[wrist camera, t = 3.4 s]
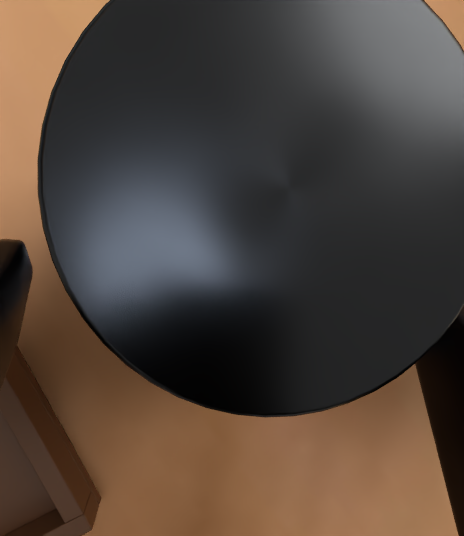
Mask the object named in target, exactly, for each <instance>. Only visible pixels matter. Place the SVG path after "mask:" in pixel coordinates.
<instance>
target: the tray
mask: <svg viewBox="0 0 464 536" xmlns="http://www.w3.org/2000/svg"><path fill="white" fill-rule="evenodd" d="M100 500H101V497H100V495H99V493H98V491H97V489H96V488H95V486H94V484H93V482H92V480H91V479H90V477H89V475H88V473H87V471H86V470H85V468H84V466H83V464H82V462H81V461H80V459H79V457H78V455H77V453H76V452H75V450H74V448H73V446H72V444H71V443H70V441H69V439H68V437H67V435H66V434H65V432H64V430H63V428H62V426H61V425H60V423H59V421H58V419H57V417H56V416H55V414H54V412H53V410H52V408H51V406H50V405H49V403H48V401H47V399H46V397H45V396H44V394H43V392H42V390H41V388H40V387H39V385H38V383H37V381H36V379H35V378H34V376H33V374H32V372H31V370H30V369H29V367H28V365H27V363H26V361H25V360H24V358H23V356H22V354H21V352H20V351H19V349H18V347H17V345H16V348H15V351H14V354H13V357H12V360H11V363H10V365H9V368H8V371H7V374H6V377H5V379H4V382H3V385H2V388H1V391H0V536H81V535H83V534H85V533H87V532H89V531H91V530H92V528H93V525H94V521H95V518H96V514H97V511H98V507H99V503H100Z"/></svg>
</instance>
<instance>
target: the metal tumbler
mask: <svg viewBox="0 0 464 536" xmlns="http://www.w3.org/2000/svg"><path fill="white" fill-rule="evenodd" d="M38 199H39V205H40V212H41V219H42V226H43V230H44V234H45V237H46V241H47V244H48V248H49V251H50V255H51V258H52V261H53V263H54V266H55V268H56V270H57V272H58V275H59V277H60V279H61V282H62V284H63V286H64V288H65V291H66V292H67V294H68V295H69V297H70V299H71V300H72V302H73V304H74V305H75V307H76V309H77V310H78V312H79V313H80V315H81V317H82V318H83V320H84V321H85V322H86V323H87V325H88V326H89V327H90V328H91V329H92V331H93V332H94V333H95V334H96V336H97V337H98V338H99V339H100V341H101V342H102V343H103V344H104V345H105V346H106V347H107V348H108V349H109V350H110V351H111V352H112V353H114V354H115V355H116V356H117V357H118V358H119V359H120V360H121V361H122V362H123V363H124V364H125V365H126V366H128V367H129V368H131V369H132V370H133V371H135V372H136V373H138V374H139V375H140V376H142V377H143V378H145V379H146V380H147V381H149V382H150V383H152V384H154V385H156V386H157V387H159V388H161V389H163V390H165V391H167V392H169V393H171V394H173V395H174V396H176V397H178V398H181V399H184V400H186V401H189V402H192V403H194V404H197V405H200V406H202V407H205V408H209V409H213V410H218V411H222V412H227V413H231V414H236V415H246V416H257V417H285V416H297V415H303V414H309V413H315V412H321V411H325V410H328V409H331V408H334V407H338V406H341V405H344V404H347V403H350V402H352V401H354V400H357V399H359V398H361V397H363V396H366V395H368V394H370V393H372V392H374V391H376V390H378V389H379V388H381V387H383V386H384V385H386V384H388V383H389V382H391V381H392V380H394V379H396V378H397V377H399V376H400V375H401V374H403V373H404V372H405V371H406V370H408V369H409V368H410V367H411V366H413V365H414V364H415V363H416V362H418V361H419V360H420V359H421V358H422V357H423V356H424V355H425V354H426V353H427V352H428V351H429V350H430V349H431V348H432V347H433V346H434V345H435V344H436V343H437V342H438V341H439V340H440V339H441V337H442V336H443V335H444V333H445V332H446V331H447V330H448V328H449V327H450V326H451V324H452V323H453V322H454V321H455V319H456V318H457V316H458V315H459V313H460V311H461V310H462V308H463V306H464V51H463V49H462V47H461V45H460V44H459V42H458V41H457V40H456V38H455V37H454V35H453V34H452V33H451V31H450V30H449V29H448V27H447V26H446V24H445V23H444V22H443V20H442V19H441V18H440V17H439V16H438V15H437V14H436V13H435V12H434V11H433V10H432V9H431V8H430V6H429V5H428V4H427V3H426V2H425V1H424V0H110V1H109V2H108V3H106V4H105V5H104V7H103V8H102V9H101V10H100V11H99V13H98V14H97V15H96V16H95V17H94V19H93V20H92V21H91V22H90V23H89V25H88V26H87V27H86V28H85V29H84V31H83V32H82V34H81V35H80V37H79V39H78V40H77V42H76V44H75V45H74V47H73V48H72V50H71V52H70V53H69V55H68V57H67V58H66V60H65V62H64V64H63V66H62V69H61V71H60V73H59V76H58V78H57V80H56V83H55V85H54V87H53V89H52V92H51V95H50V99H49V102H48V106H47V109H46V113H45V117H44V120H43V124H42V130H41V137H40V145H39V153H38Z"/></svg>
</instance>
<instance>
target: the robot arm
mask: <svg viewBox="0 0 464 536" xmlns="http://www.w3.org/2000/svg"><path fill="white" fill-rule="evenodd" d="M32 273H33V272H32V265H31V262H30V259H29V256H28V253H27V250H26V247H25V244H24V243H23V242H22V241H20V240H10V239H0V391H1V388H2V385H3V382H4V379H5V377H6V374H7V371H8V368H9V365H10V363H11V360H12V357H13V354H14V351H15V348H16V345H17V342H18V338H19V334H20V330H21V325H22V321H23V316H24V312H25V307H26V303H27V298H28V293H29V289H30V284H31V280H32ZM415 364H416V369H417V373H418V377H419V381H420V385H421V389H422V393H423V396H424V400H425V404H426V408H427V412H428V416H429V420H430V424H431V428H432V432H433V436H434V440H435V444H436V448H437V452H438V456H439V460H440V464H441V468H442V472H443V476H444V480H445V484H446V487H447V491H448V495H449V499H450V503H451V507H452V511H453V515H454V519H455V523H456V527H457V531H458V535H459V536H464V306H463V308H462V310H461V311H460V313H459V315H458V316H457V318H456V319H455V321H454V322H453V323H452V324H451V326H450V327H449V328H448V330H447V331H446V332H445V333H444V335H443V336H442V337H441V339H440V340H439V341H438V342H437V343H436V344H435V345H434V346H433V347H432V348H431V349H430V350H429V351H428V352H427V353H426V354H425V355H424V356H423V357H422V358H421V359H420V360H419V361H418V362H416V363H415Z"/></svg>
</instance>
